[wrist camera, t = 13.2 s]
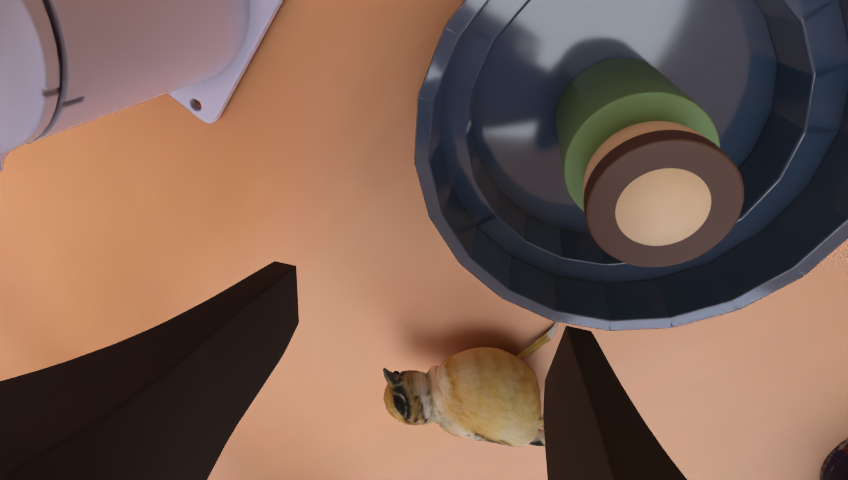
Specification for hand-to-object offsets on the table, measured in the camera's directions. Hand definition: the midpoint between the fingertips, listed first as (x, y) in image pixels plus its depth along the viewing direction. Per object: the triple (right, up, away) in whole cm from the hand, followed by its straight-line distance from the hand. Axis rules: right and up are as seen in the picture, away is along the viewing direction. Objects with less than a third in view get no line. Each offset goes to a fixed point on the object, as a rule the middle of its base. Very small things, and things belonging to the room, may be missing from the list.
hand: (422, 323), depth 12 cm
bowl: (+7, +7, +5) cm, 11 cm away
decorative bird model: (+5, -6, +14) cm, 16 cm away
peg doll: (+7, +7, +5) cm, 11 cm away
